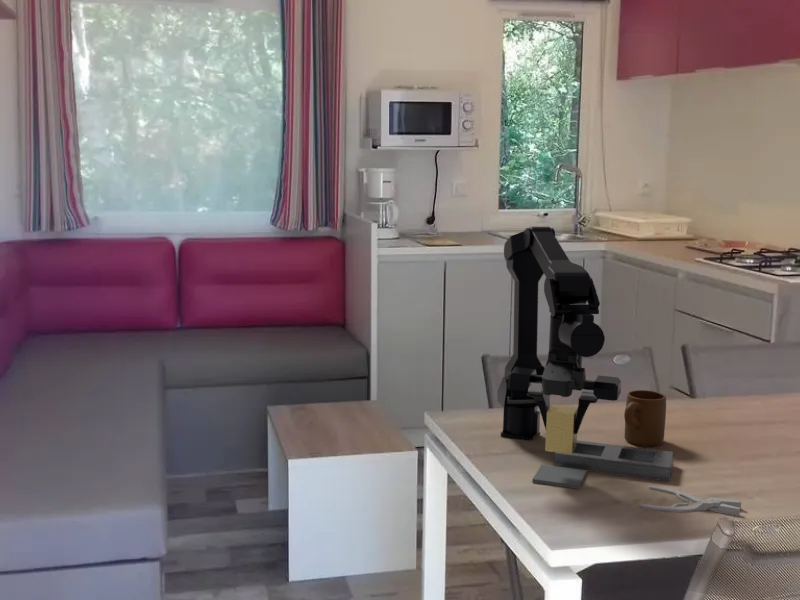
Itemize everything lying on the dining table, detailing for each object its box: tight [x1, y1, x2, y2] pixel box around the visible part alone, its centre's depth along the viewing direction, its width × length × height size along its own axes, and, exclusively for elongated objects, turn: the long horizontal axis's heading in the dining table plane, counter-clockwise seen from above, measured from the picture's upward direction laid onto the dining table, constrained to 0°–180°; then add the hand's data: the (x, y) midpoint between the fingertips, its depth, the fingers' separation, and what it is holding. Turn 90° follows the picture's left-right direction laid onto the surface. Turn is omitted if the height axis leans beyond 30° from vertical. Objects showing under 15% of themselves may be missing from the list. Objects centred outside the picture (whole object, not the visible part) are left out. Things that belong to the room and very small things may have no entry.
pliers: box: [639, 485, 742, 516], centre depth 155 cm, size 10×2×15 cm
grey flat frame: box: [553, 439, 674, 482], centre depth 172 cm, size 20×9×2 cm, turn 70°
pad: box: [531, 464, 587, 490], centre depth 166 cm, size 8×8×1 cm
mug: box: [623, 389, 667, 447], centre depth 185 cm, size 12×8×9 cm, turn 140°
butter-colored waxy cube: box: [544, 404, 578, 454], centre depth 164 cm, size 5×5×7 cm
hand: (561, 431), depth 164 cm, fingers closed on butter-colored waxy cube, 5 cm apart
